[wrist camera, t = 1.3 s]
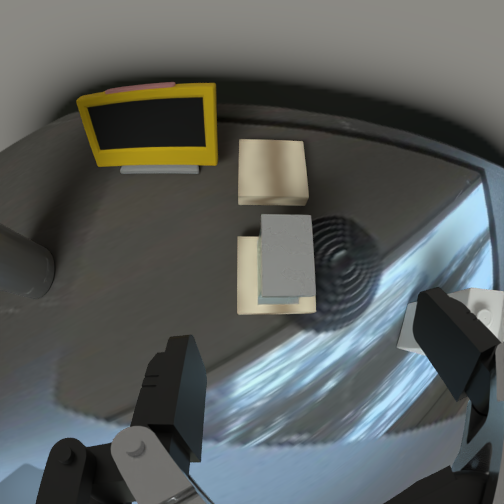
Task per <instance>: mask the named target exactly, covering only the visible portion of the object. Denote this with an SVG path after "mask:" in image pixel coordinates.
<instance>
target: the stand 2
mask: <svg viewBox="0 0 504 504" xmlns="http://www.w3.org/2000/svg"><path fill="white" fill-rule="evenodd" d="M257 240H259V237H238V267H237V314H303V313H313V312H316V298H315V296H313V297H299V304H297V305H257Z"/></svg>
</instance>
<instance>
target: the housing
mask: <svg viewBox="0 0 504 504" xmlns="http://www.w3.org/2000/svg"><path fill="white" fill-rule="evenodd" d="M260 223H261V228H260V234H259V240H257V305H297V304H299V297H313V296H315V295H316V287H315V267H314V250H313V235H312V222H311V215H280V214H261V220H260Z"/></svg>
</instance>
